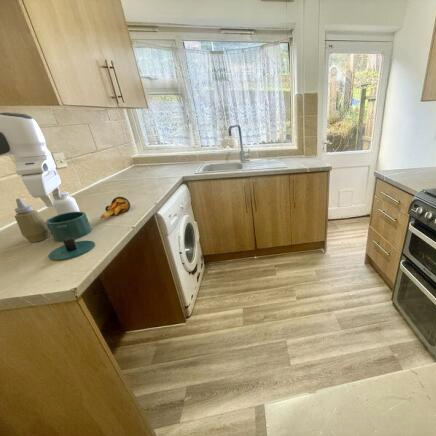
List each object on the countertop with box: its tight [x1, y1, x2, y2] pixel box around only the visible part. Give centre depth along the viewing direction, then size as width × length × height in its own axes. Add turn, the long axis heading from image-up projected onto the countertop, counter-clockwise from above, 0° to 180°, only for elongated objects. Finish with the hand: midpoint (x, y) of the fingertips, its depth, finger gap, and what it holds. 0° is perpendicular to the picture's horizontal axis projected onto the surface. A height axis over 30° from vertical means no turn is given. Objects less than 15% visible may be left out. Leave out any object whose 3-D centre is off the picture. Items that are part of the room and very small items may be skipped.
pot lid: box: [47, 237, 96, 262], centre depth 91 cm, size 14×14×6 cm
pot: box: [45, 211, 92, 243], centre depth 104 cm, size 13×18×8 cm
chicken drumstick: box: [100, 196, 131, 220], centre depth 123 cm, size 9×11×18 cm
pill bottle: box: [52, 191, 81, 215], centre depth 114 cm, size 8×8×15 cm
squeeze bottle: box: [14, 198, 50, 243], centre depth 99 cm, size 8×8×18 cm
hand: (54, 202), depth 88 cm, fingers open, 8 cm apart
